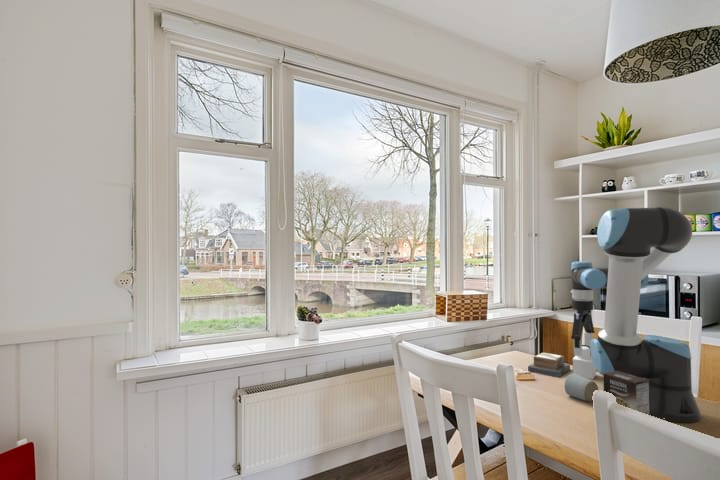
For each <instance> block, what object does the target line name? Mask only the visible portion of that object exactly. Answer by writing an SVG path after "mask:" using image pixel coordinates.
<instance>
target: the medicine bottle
mask: <svg viewBox="0 0 720 480" xmlns="http://www.w3.org/2000/svg"><path fill="white" fill-rule="evenodd" d="M572 373H574V374H577V375H579V376H582V377H584V378H587V379H590V380H594V378H595V377H596V376H597V369H596V368H595V365H594V363H593V360H592V356H591V351H590V346H587V345H585V344H582V357H581V356H575V355H574V357H573V358H572Z"/></svg>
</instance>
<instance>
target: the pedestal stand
mask: <svg viewBox="0 0 720 480" xmlns="http://www.w3.org/2000/svg"><path fill="white" fill-rule="evenodd" d="M570 370H571V365H570V364H568V363H565V357H564V355H560V354H556V353H555V354H554V353H549V352H541V353H538V354H536V355H534V356H533V363H532V364H529V365H528V366H527V372H530V371H532V372H531V373H535V372H536V374H539V375H540V374H541V375H544V376H545V375H546V376H552V377H555V378H560V377H561V376H562V375H564V374H565V373H567V372H568V371H570Z"/></svg>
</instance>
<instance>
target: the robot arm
mask: <svg viewBox="0 0 720 480" xmlns="http://www.w3.org/2000/svg"><path fill="white" fill-rule="evenodd" d="M596 231H597V232H596V237H597V243H598V246H599V247H600V248H602V249H603V253H604V254H605V255H606V256H607V257H608V267H605V268H604V267H596V268H595V267H594V266H593V262H591V261H573V262H571V265H570V266H571V267H570V273H571V274H570V275H571V290H570V293H571V298H572V300H571V308H572V310H574V311H575V310H576V313H573V323H572V330H571V336H570V338H571V340H573V355H574V357H575V356H581V357H582V345H583V340H582V334H583V330H584V334H583V335H584V345H587V346H590V351H591V356H592V360H593V363H594V365H595V368H596V372H598V374H599V375H601V376H603V374H604V373H607V372H614V371H619V372H623V373H626V374H630V375H633V376H637V377H640V378H644V379H648V380H649V416H650V415H652V416H651V417H653V416H655V417H654V418H656V417H658V418H657V419H659V418H660V419H659V420H663V418H665V419H664V421H669V422H673V421H674V423H681V422H682V423H685V424H686V423H687V424H688V423H690V424H691V423H697V422H699V421H700V420H701V412H700V411H701V410H700V408H699V406H698V404H697V401H696V398H695V396H694V394H693V389H692V388H693V387H692V355H691V349H690V346H689V344H688V343H687V342H684V341H682V340H679V339H675V338H671V337H666V336H662V335H655V334H644V335H643V338H642V336H640V335H639V334H638V333H637V331H638V322H639V321H638V320H639V309H640V296H641V289H645V288H646V287H647V286H648V283H649V275H650V274H651V273H652V272H653V271H654V270H655V269H656V268H658V266H659V265H660V264H662V263H663V262H664V261H665V260H667V258H668V257H670V256H671V255H672V254H675V253H678V252H680V251H682V250H683V249H684V248H685V247H686V246H688V244H689V243H690V241H691V239H692V237H693V228H692V224H691V222H690V220H689V219H688V217H687V216H685V215H684V214H683V212H681V211H680V210H679V211H678V210H677V209H674V208H673V207H672V208H671V207H665V206H658V207H629V208H628V207H627V208H625V207H621V208H615V209H614V208H613V209H608V210H607V211H606V212H604V213H603V214H602V216H601V218H600V220H599V222H598V225H597V230H596ZM599 289H606V297H605V298H606V299H605V312H604V323H603V324H604V325H603V326H604V327H603V328H602V329H600V330H599V331H598V332H597V333H598V334H597V338H593V334H595V328H594V323H593V317H592V311H593V310H594V301H593V300H594V290H599ZM676 421H677V422H676Z"/></svg>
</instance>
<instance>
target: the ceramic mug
mask: <svg viewBox="0 0 720 480" xmlns="http://www.w3.org/2000/svg"><path fill="white" fill-rule="evenodd" d="M595 390H598V391H599V387H598V384H597V383H596V382H595V381H594V380H593V379H587V378H584V377H582V376H579V375H577V374H574V373H573V372H572V373H570V374H569V375H567V376H566V378H565V380H564V391H565V393H566V395H569V396H571V397H574V398H576V399H579V400H581V401H584V402H589V403H591V402H593V401H592V396H593V392H594V391H595Z"/></svg>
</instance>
